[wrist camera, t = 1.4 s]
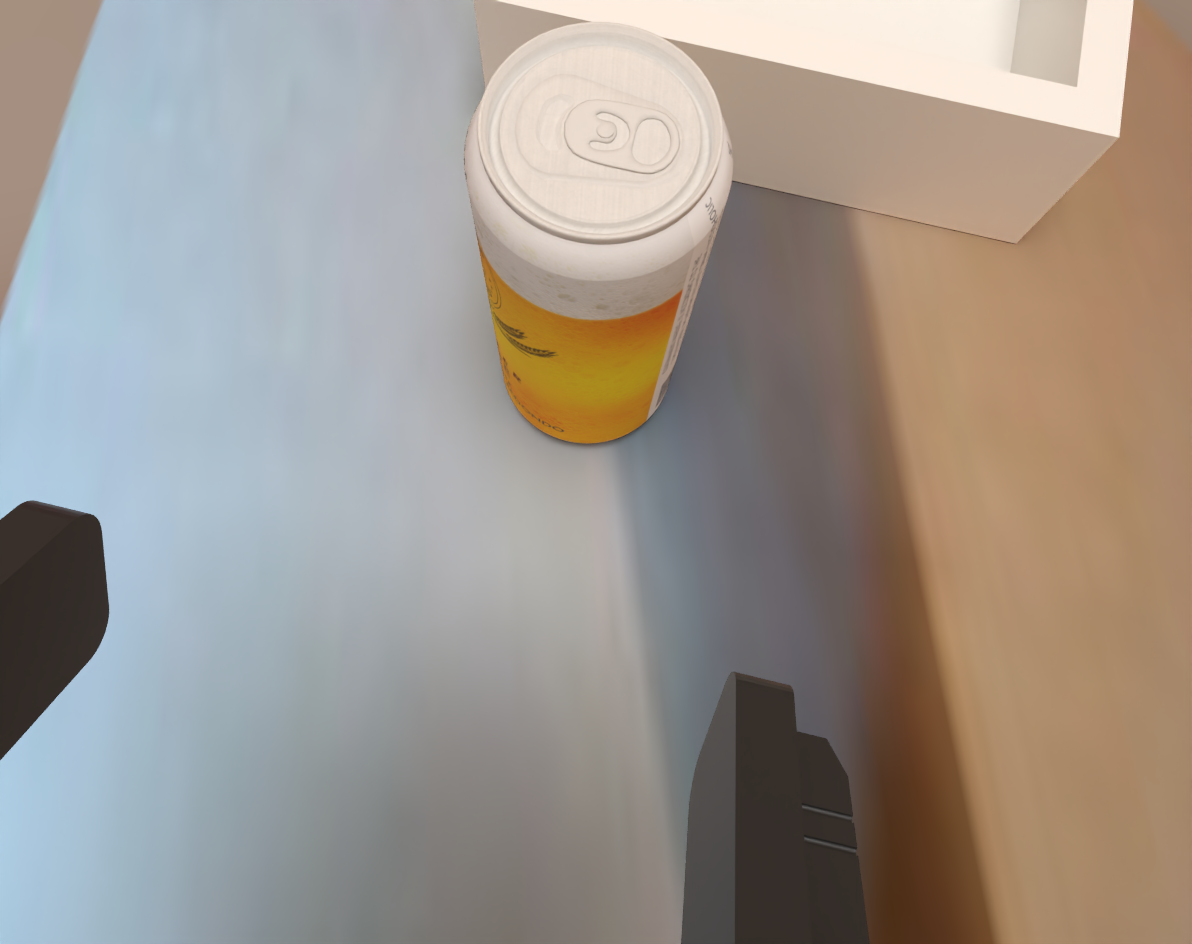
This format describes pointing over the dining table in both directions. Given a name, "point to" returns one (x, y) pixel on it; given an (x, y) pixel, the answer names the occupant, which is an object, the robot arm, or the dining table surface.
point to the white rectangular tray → (888, 94)
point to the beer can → (595, 219)
